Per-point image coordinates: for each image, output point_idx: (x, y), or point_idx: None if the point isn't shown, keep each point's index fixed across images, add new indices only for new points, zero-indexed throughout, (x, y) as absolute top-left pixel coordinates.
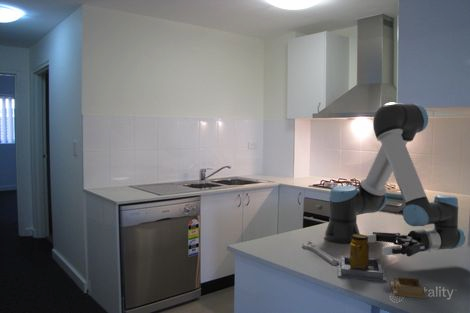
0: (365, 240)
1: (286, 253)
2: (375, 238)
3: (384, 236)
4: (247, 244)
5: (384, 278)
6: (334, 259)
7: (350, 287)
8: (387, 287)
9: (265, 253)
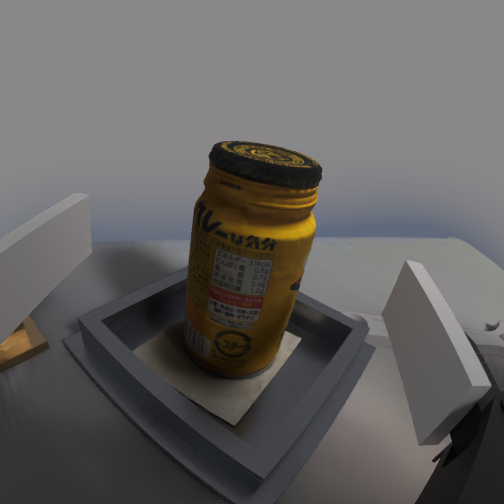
0: (210, 163)
1: (441, 278)
2: (442, 414)
3: (449, 497)
4: (479, 257)
5: (79, 349)
6: (378, 333)
7: (134, 249)
8: (42, 311)
9: (431, 252)
